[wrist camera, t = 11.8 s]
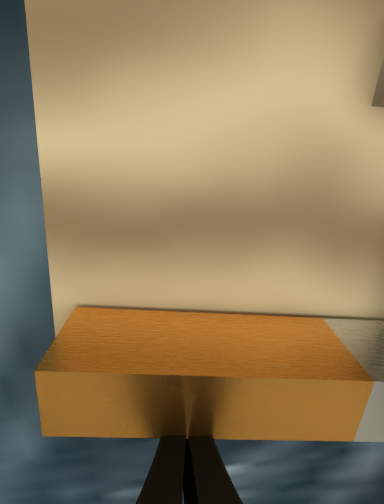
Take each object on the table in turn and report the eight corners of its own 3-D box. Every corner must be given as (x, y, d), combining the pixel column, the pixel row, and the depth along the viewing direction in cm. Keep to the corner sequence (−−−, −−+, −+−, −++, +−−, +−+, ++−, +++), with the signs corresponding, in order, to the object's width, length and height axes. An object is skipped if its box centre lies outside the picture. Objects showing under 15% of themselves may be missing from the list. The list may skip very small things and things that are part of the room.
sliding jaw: (518, 374, 14) (625, 445, 10) (78, 359, 12) (42, 436, 9) (544, 327, 13) (669, 390, 10) (75, 307, 12) (34, 370, 8)
